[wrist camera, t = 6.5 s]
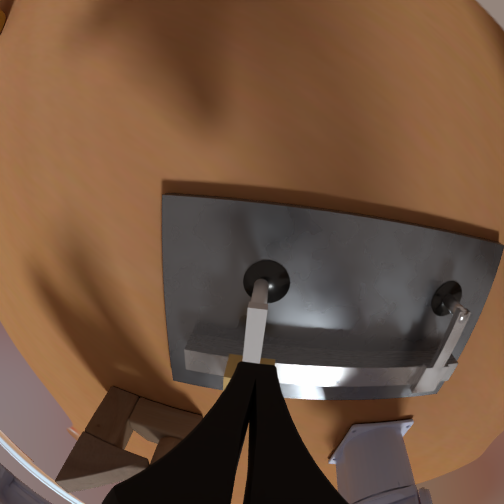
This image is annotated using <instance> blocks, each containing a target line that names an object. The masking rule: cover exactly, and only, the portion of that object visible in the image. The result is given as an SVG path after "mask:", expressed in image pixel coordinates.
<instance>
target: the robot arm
mask: <svg viewBox="0 0 504 504" xmlns="http://www.w3.org/2000/svg"><path fill="white" fill-rule="evenodd" d="M413 423H414V421H413V419H409V420H401V421H393V422H382V423H370V424H355V425H353V426H352V427H351V428H350V430H349V431H348V433H347V434H346V436H345V437H344V439H343V440H342V442H341V443H340V445H339V446H338V448H337V449H336V451H335V452H334V454H333V455H332V456H331V458H330V459H329V461H328V462H329V464H336V473H337V485H338V491H337V490H336V489H335V488H334V487H333V485H332V484H331V483H330V482H329V480H328V479H327V478H326V476H325V475H324V474H323V472H322V471H321V470H320V468H319V467H318V466H317V464H316V463H315V461H314V460H313V458H312V456H311V455H310V453H309V452H308V450H307V448H306V446H305V445H304V443H303V441H302V439H301V437H300V435H299V433H298V431H297V429H296V427H295V425H294V423H293V421H292V418H291V416H290V413H289V411H288V408H287V405H286V403H285V400H284V397H283V394H282V391H281V387H280V383H279V379H278V374H277V368H276V367H275V366H274V365H268V364H259V363H251V362H243V361H241V362H239V363H238V364H237V367H236V369H235V372H234V374H233V376H232V378H231V379H230V381H229V383H228V385H227V386H226V388H225V389H224V391H223V392H222V394H221V395H220V397H219V398H218V400H217V401H216V403H215V404H214V405H213V407H212V408H211V409H210V410H209V412H208V413H207V414H206V415H205V417H204V418H203V419H202V420H201V421H200V422H199V424H198V425H197V426H196V427H195V428H194V429H193V430H192V431H191V432H190V433H189V434H188V435H187V436H186V437H185V438H184V439H183V440H182V441H181V442H179V443H178V444H177V445H176V446H175V447H174V448H173V449H171V450H170V451H169V452H168V453H167V454H165V455H164V456H163V457H161V458H160V459H158V460H157V461H156V462H154V463H153V464H151V465H150V466H148V467H147V468H145V469H144V470H142V471H141V472H139V473H137V474H136V475H134V476H132V477H130V478H128V479H126V480H125V481H123V482H121V483H119V484H117V485H115V486H114V487H113V488H112V489H111V491H110V492H109V493H108V494H107V496H106V497H105V499H104V500H103V502H102V504H231V499H232V493H233V487H234V481H235V475H236V470H237V466H238V462H239V458H240V454H241V451H242V447H243V443H244V439H245V435H246V431H247V428H248V424H249V448H248V472H247V481H246V487H245V494H244V501H243V504H432V500H431V495H430V492H429V490H428V489H425V488H420V489H419V493H418V490H417V487H416V485H415V481H414V477H413V473H412V469H411V466H410V462H409V458H408V454H407V451H406V447H405V444H404V440H403V436H404V434H405V433H406V432H407V431H408V429H409V428H410V427H411V426H412V424H413ZM419 495H420V497H419ZM0 504H52V503H50V502H49V501H47V500H46V499H44V498H43V497H41V496H40V495H39V494H37V493H36V492H34V491H33V490H32V489H30V488H29V487H28V486H27V485H25V484H24V483H23V482H21V481H20V480H19V479H18V478H16V477H15V476H14V475H13V474H12V473H11V472H10V471H9V470H7V469H6V468H5V467H4V466H3V465H1V463H0Z"/></svg>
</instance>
